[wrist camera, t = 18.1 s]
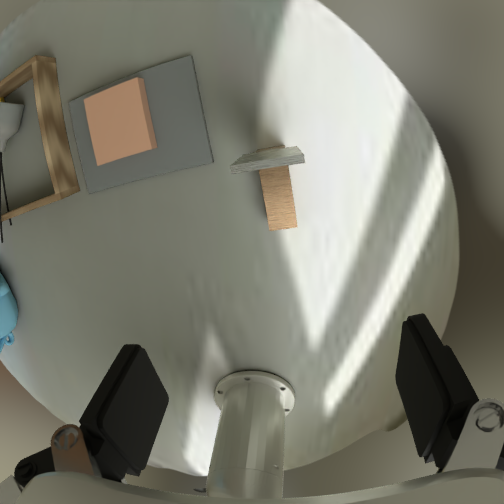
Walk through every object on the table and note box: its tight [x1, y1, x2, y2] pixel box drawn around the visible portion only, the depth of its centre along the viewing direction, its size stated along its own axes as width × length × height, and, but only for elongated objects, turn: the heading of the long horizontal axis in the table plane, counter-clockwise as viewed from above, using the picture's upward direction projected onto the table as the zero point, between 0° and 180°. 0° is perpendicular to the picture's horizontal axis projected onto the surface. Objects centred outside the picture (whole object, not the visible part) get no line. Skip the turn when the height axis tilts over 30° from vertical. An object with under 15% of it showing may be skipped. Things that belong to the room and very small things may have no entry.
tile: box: [84, 77, 158, 166], centre depth 29 cm, size 2×7×8 cm
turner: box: [230, 145, 305, 231], centre depth 27 cm, size 11×5×8 cm
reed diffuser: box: [0, 97, 24, 243], centre depth 31 cm, size 10×7×20 cm
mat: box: [69, 55, 214, 194], centre depth 30 cm, size 12×16×1 cm
